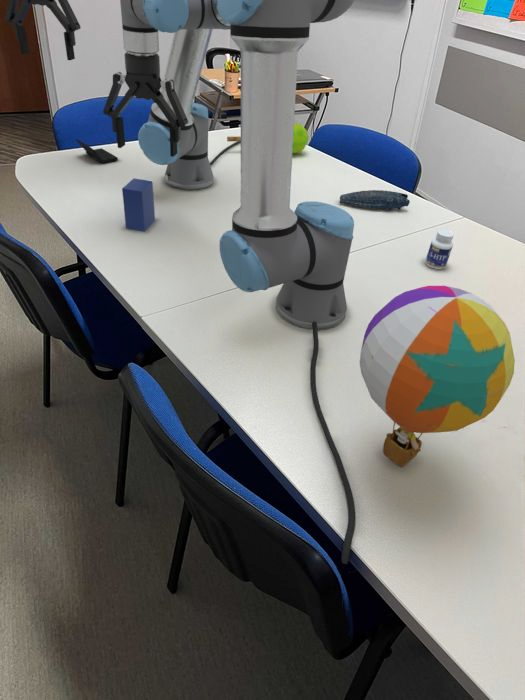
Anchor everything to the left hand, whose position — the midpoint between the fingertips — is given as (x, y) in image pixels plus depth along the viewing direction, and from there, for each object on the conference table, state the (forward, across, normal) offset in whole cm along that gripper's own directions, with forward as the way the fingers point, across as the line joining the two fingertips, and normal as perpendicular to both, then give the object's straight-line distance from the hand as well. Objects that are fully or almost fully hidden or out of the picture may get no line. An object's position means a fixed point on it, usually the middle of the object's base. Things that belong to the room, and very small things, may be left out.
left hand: (48, 56), depth 143 cm
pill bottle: (+32, -113, +22) cm, 120 cm away
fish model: (+32, -96, -10) cm, 101 cm away
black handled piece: (+32, -3, -15) cm, 36 cm away
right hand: (+13, -38, +25) cm, 47 cm away
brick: (+32, -35, +26) cm, 54 cm away
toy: (+32, -104, +89) cm, 141 cm away
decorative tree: (+32, -55, -45) cm, 78 cm away
